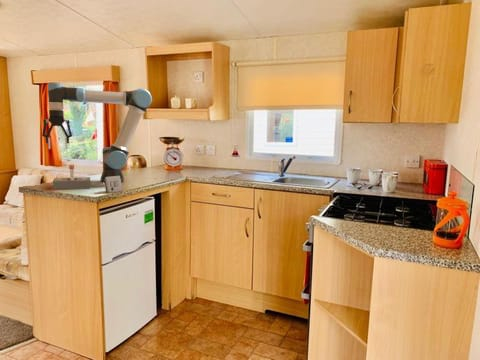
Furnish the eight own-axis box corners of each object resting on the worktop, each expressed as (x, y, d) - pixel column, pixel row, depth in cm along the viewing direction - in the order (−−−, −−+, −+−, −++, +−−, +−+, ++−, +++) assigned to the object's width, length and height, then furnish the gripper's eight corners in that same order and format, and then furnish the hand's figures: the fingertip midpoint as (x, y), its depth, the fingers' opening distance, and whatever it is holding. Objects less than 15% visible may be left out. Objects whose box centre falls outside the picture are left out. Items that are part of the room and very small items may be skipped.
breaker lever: (74, 180, 224) (74, 164, 222) (74, 181, 218) (73, 165, 217) (70, 180, 223) (69, 164, 221) (69, 182, 217) (68, 165, 216)
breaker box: (90, 185, 231) (89, 176, 230) (90, 188, 219) (90, 180, 218) (55, 186, 223) (54, 177, 222) (53, 189, 211) (52, 181, 210)
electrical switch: (108, 193, 206) (107, 177, 205) (103, 193, 209) (102, 177, 208) (122, 191, 213) (121, 175, 212) (117, 191, 216) (116, 175, 216)
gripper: (34, 108, 205) (36, 149, 208) (75, 110, 213) (77, 149, 216) (36, 109, 212) (38, 148, 215) (76, 110, 220) (77, 148, 223)
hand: (58, 148), depth 216 cm, fingers open, 8 cm apart
